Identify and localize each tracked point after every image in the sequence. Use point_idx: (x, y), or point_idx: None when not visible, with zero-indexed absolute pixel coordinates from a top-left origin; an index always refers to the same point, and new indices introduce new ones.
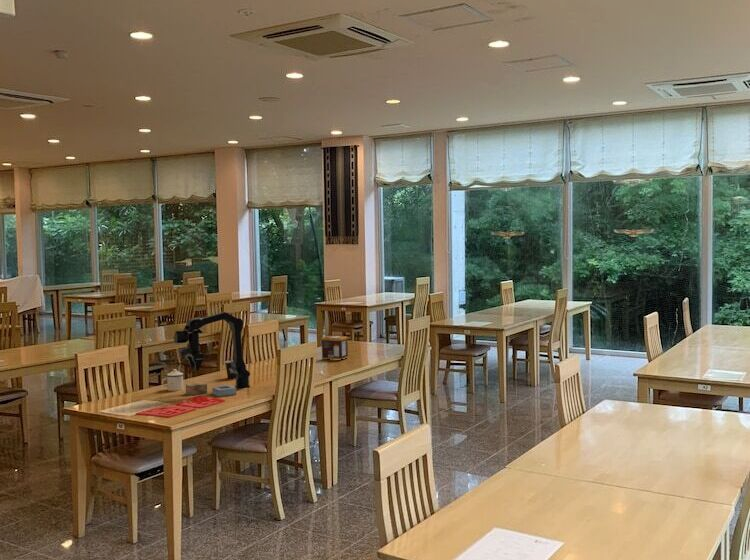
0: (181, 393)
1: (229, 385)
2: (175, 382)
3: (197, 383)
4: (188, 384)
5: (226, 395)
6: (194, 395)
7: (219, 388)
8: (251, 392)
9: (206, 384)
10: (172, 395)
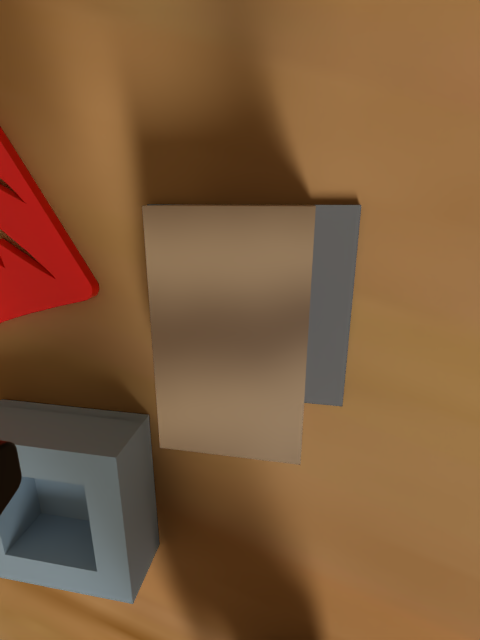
0: (397, 169)
1: (108, 589)
2: None
3: (267, 374)
4: (271, 241)
5: None
6: None
7: None
8: (75, 621)
9: (161, 438)
10: (350, 18)
